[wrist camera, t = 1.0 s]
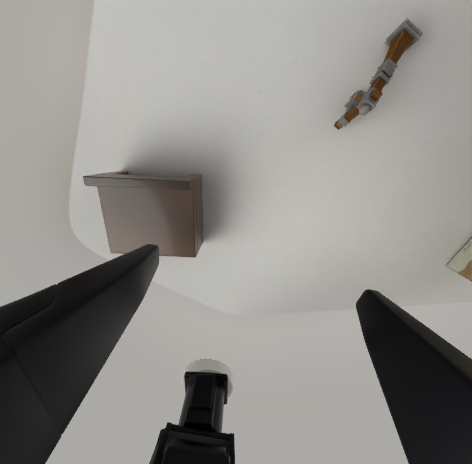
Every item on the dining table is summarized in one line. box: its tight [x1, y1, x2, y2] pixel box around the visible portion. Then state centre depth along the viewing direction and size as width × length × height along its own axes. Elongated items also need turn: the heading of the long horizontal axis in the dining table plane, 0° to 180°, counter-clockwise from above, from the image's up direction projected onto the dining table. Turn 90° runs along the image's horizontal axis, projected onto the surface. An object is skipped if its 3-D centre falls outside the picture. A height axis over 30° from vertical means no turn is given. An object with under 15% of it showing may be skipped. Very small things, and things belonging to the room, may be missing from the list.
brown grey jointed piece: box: [334, 18, 423, 129], centre depth 18 cm, size 2×8×4 cm, turn 147°
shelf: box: [83, 171, 203, 257], centre depth 21 cm, size 8×9×6 cm
